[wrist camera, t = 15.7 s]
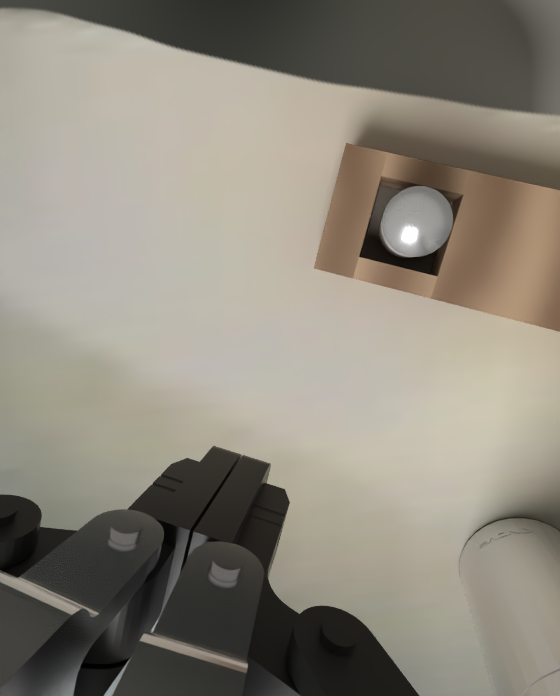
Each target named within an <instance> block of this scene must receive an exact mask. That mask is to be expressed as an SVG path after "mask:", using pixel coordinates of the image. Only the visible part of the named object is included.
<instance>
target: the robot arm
mask: <svg viewBox="0 0 560 696" xmlns="http://www.w3.org/2000/svg"><path fill="white" fill-rule="evenodd" d="M270 466H271V464H270V463H267V462H263V461H260V460H257V459H254V458H251V457H248V456H244V455H243V456H242V457H241V454H238V453H235V452H231V451H228V450H225V449H222V448H219V447H216V446H213V447H212V448H211V449H210V450H209V452H208V453H207V454H206V455H205V456H204V458H203V459H202V460H201V461H200V462H198V461H195V460H192V459H189V458H186V459H184V460H181V461H178V462H176V463H173V464H171V465H170V466H169V467H168V468H167V469H166V470H165V471H164V472H163V473H162V474H161V477H160V476H159V477H158V478H157V479H156V480H155V481H154V482H153V485H151V486H150V487H149V488H148V489H147V490H146V491H145V492H144V493H143V494H142V495H141V496H140V497H139V498H138V499H137V500H136V501H135V502H134V503H133V504H132V505H131V506H130V507H129V508H128V509H127V510H122V509H121V510H112V511H108V512H104V513H102V514H100V515H97V516H96V517H94V518H93V519H92V520H90V521H89V522H88V523H87V524H85V525H84V526H83V527H82V528H80V529H79V530H78V531H75V530H63V529H54V528H44V527H40V524H41V517H42V515H41V510H40V508H39V507H38V505H36V504H35V503H34V502H32V501H31V500H29V499H26V498H23V497H20V496H14V495H0V696H419V695H418V693H417V692H416V691H415V689H414V688H413V687H412V686H411V684H410V683H409V682H408V680H407V679H406V678H405V676H404V675H403V674H402V672H401V671H400V670H399V668H398V667H397V666H396V664H395V663H394V662H393V660H392V659H391V658H390V656H389V655H388V654H387V653H386V651H385V650H384V649H383V647H382V646H381V645H380V643H379V642H378V641H377V639H376V638H375V637H374V635H373V634H372V633H371V631H370V630H369V629H368V628H367V627H366V626H365V625H364V624H363V623H362V622H361V621H360V620H358V619H357V618H356V617H354V616H353V615H351V614H349V613H348V612H345V611H343V610H341V609H338V608H335V607H330V606H314V607H311V608H308V609H306V610H304V611H303V612H302V613H300V614H299V613H297V612H295V611H294V610H292V609H291V608H290V607H288V606H287V605H286V604H284V603H283V602H282V601H281V600H280V599H279V598H278V597H277V596H276V594H275V593H274V591H273V590H272V588H271V586H270V584H269V580H268V576H269V573H270V570H271V567H272V563H273V560H274V557H275V554H276V550H277V546H278V543H279V539H280V536H281V532H282V528H283V525H284V521H285V518H286V514H287V510H288V507H289V503H290V502H289V499H288V497H287V494H286V491H285V489H282V488H279V487H276V486H273V485H270V484H267V479H268V475H269V471H270ZM459 573H460V577H461V582H462V585H463V589H464V592H465V596H466V599H467V602H468V606H469V609H470V613H471V617H472V620H473V624H474V627H475V631H476V634H477V637H478V641H479V644H480V648H481V651H482V654H483V658H484V661H485V665H486V668H487V672H488V675H489V678H490V682H491V685H492V689H493V692H494V695H495V696H560V531H559V530H557V529H555V528H554V527H552V526H550V525H548V524H546V523H543V522H540V521H537V520H532V519H525V518H509V519H505V520H500V521H496V522H494V523H492V524H489V525H487V526H485V527H483V528H482V529H481V530H479V531H478V532H476V533H475V534H474V535H473V536H472V537H471V539H470V540H469V541H468V542H467V544H466V546H465V547H464V549H463V551H462V555H461V558H460V567H459ZM150 631H153V633H150Z"/></svg>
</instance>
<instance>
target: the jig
mask: <svg viewBox="0 0 560 696" xmlns="http://www.w3.org/2000/svg"><path fill="white" fill-rule="evenodd" d="M380 185H381V186H385V187H390V188H394V189H398V190H404V189H407V188H410V187H414V186H425V187H430V188H432V189H435V190H437V191H438V192H440V193H441V194H442V195H443V196H444V197H445V198H446V199H447V201H451V202H453V203H452V206H451V209H452V214H453V225H452V229H451V232H450V234H449V236H448V238H447V240H446V241H445V242H444V244H443V245H442V246H441V247H440V248H438V251H437V254H436V258H435V261H434V264H433V267H432V270H431V274H430V275H429V274H425V273H421V272H417V271H413V270H409V269H405V268H401V267H397V266H393V265H389V264H385V263H381V262H377V261H373V260H369V259H365V258H361V257H360V255H361V251H362V248H363V244H364V240H365V237H366V233H367V230H368V226H369V222H370V219H371V215H372V212H373V208H374V204H375V201H376V197H377V194H378V190H379V186H380ZM314 268H315V269H319V270H322V271H326V272H330V273H334V274H338V275H342V276H346V277H350V278H354V279H358V280H361V281H365V282H369V283H373V284H377V285H381V286H385V287H389V288H393V289H396V290H400V291H404V292H408V293H412V294H416V295H420V296H424V297H428V298H431V299H435V300H439V301H443V302H447V303H451V304H455V305H459V306H463V307H466V308H470V309H474V310H478V311H482V312H486V313H490V314H494V315H498V316H501V317H505V318H509V319H513V320H517V321H521V322H525V323H529V324H533V325H536V326H540V327H544V328H548V329H552V330H556V331H560V190H556V189H552V188H547V187H542V186H538V185H533V184H529V183H524V182H520V181H515V180H511V179H506V178H502V177H497V176H493V175H488V174H484V173H479V172H475V171H470V170H466V169H461V168H456V167H452V166H447V165H443V164H438V163H434V162H429V161H425V160H420V159H416V158H411V157H407V156H402V155H398V154H393V153H389V152H384V151H379V150H375V149H370V148H366V147H361V146H357V145H352V144H348V143H346V146H345V149H344V153H343V157H342V161H341V165H340V169H339V173H338V177H337V180H336V184H335V188H334V192H333V196H332V200H331V204H330V208H329V212H328V215H327V219H326V223H325V227H324V231H323V235H322V239H321V243H320V246H319V250H318V254H317V258H316V262H315V266H314Z"/></svg>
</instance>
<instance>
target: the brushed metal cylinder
mask: <svg viewBox="0 0 560 696" xmlns="http://www.w3.org/2000/svg"><path fill="white" fill-rule="evenodd" d="M452 225H453V214H452V209H451V206H450V204H449V202H448V201H447V199H446V198H445V197H444V196H443V195H442V194H441V193H440V192H438V191H437V190H435V189H432V188H430V187H425V186H414V187H410V188H407V189H404V190H402V191H401V192H399V193H398V194H396V195H395V196H394V197H393V198H392V199H391V200H390V202H389V203H388V205H387V206H386V208H385V210H384V213H383V216H382V220H381V223H380V226H379V237H380V240H381V243H382V245H383V246H384V248H385V249H386V250H387V251H388V252H389V253H391V254H392V255H395V256H397V257H402V258H408V257H419V256H424V255H428V254H430V253H432V252H434V251H436V250H437V249H438V248H440V247H441V246H442V245H443V244H444V242H445V241H446V240H447V238H448V236H449V234H450V232H451V229H452Z"/></svg>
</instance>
